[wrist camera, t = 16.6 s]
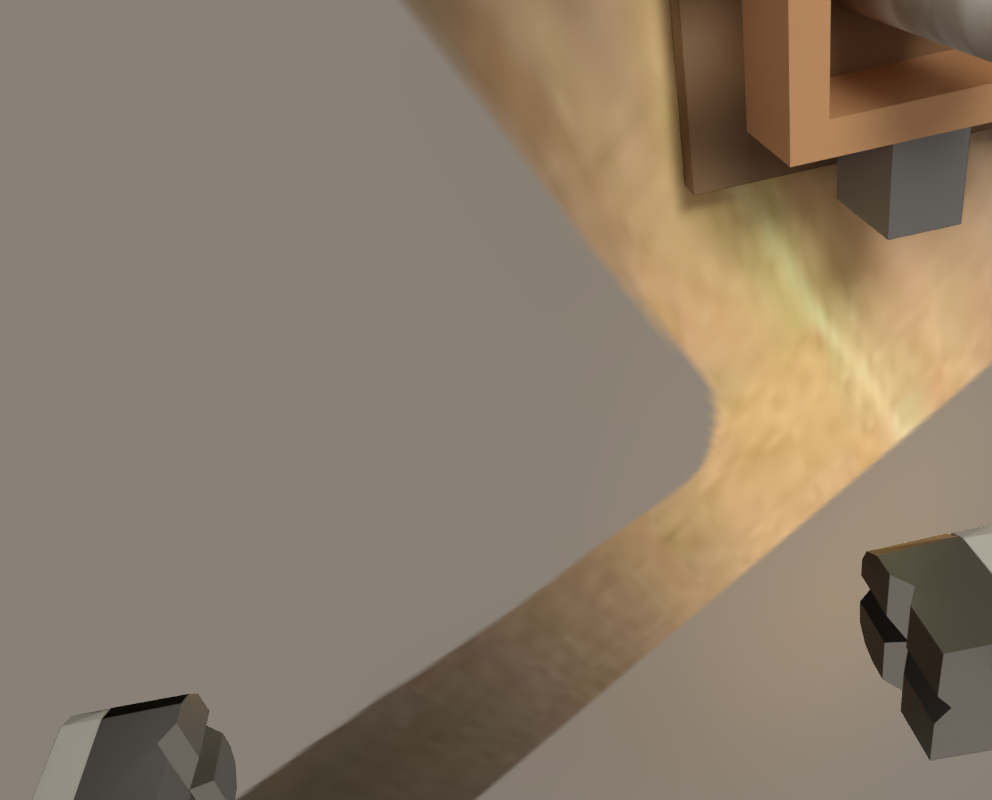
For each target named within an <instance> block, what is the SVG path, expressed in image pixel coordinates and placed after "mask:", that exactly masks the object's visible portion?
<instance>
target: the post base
mask: <svg viewBox="0 0 992 800" xmlns="http://www.w3.org/2000/svg"><path fill="white" fill-rule="evenodd" d="M670 8H671V20H672V33H673V45H674V57H675V69H676V81H677V93H678V106H679V118H680V130H681V142H682V154H683V166H684V179H685V185H686V186H687V188H688V189H689V190H690V191H691V192H692V193H693V195H698V194H703V193H707V192H712V191H716V190H720V189H725V188H729V187H734V186H738V185H743V184H747V183H752V182H756V181H760V180H765V179H769V178H774V177H778V176H783V175H787V174H792V173H796V172H800V171H805V170H809V169H814V168H818V167H823V166H827V165H832V164H836V163H837V157H834V158H829V159H825V160H820V161H816V162H811V163H807V164H803V165H798V166H794V167H789V166H788V165H787V164H786V163H784V162H783V161H782V160H781V159H780V158H778V157H777V156H776V155H775V154H774V153H772V152H771V151H770V150H769V149H767V148H766V147H765V146H764V145H763V144H761V143H760V142H759V141H758V140H757V139H755V138H754V137H753V136H752V135H750V134H749V133H748V132H747V122H746V97H745V71H744V46H743V20H742V0H670ZM953 49H956V50H959V51H961V52H964V53H967V54H970V55H972V56H975V57H978V58H981V59H983V60H986V61H989V62H992V0H831V27H830V77H834V76H839V75H843V74H847V73H852V72H856V71H861V70H865V69H869V68H874V67H878V66H883V65H887V64H891V63H896V62H900V61H905V60H909V59H913V58H918V57H922V56H927V55H931V54H936V53H940V52H944V51H949V50H953ZM987 129H992V122H990V123H985V124H981V125H976V126H972V127H971V132H970V133H974V132H978V131H983V130H987Z"/></svg>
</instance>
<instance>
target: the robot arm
mask: <svg viewBox="0 0 992 800" xmlns="http://www.w3.org/2000/svg"><path fill="white" fill-rule="evenodd" d="M861 575H862V577H863V579H864V580H865V582H866V583H867V585H868V586H869V588H870V590H869V591H868V593H867V594H866V595H865V596H864V598H863V599H862V600H861V601H860V623H861V628H862V632H863V636H864V641H865V644H866V647H867V649H868V652H869V654H870V656H871V659H872V661H873V663H874V665H875V667H876V668H877V670H878V672H879V674H880V675H881V677H882V679H883V680H885V681H887V682H888V683H890V684H892V685H894V686H895V687H897V688H899V689H900V690H902V703H901V712H902V714H903V715H904V717H905V719H906V721H907V722H908V724H909V725H910V727H911V729H912V731H913V732H914V734H915V736H916V738H917V739H918V741H919V743H920V744H921V746H922V748H923V750H924V751H925V753H926V755H927V756H928V758H929V760H937V759H943V758H949V757H954V756H960V755H966V754H972V753H978V752H983V751H989V750H992V524H991V525H986V526H982V527H977V528H972V529H968V530H963V531H958V532H954V533H951V534H943V535H938V536H933V537H929V538H924V539H920V540H915V541H911V542H907V543H902V544H898V545H893V546H888V547H884V548H879V549H875V550H871V551H867V552H866V554H865V555H864V557H863V559H862V573H861ZM208 714H209V710H208V708H207V707H206V705H205V704H204V702H203V701H202V699H201V698H200V696H199V695H198V694H186V695H180V696H176V697H170V698H164V699H158V700H153V701H148V702H142V703H136V704H131V705H125V706H120V707H115V708H111V709H106V710H101V711H96V712H90V713H85V714H80V715H75V716H71V717H70V718H69V719H68V720H67V721H66V722H65V723H64V724H63V725H62V727H61V728H60V730H59V732H58V735H57V737H56V740H55V742H54V745H53V747H52V750H51V752H50V755H49V758H48V760H47V763H46V765H45V768H44V770H43V773H42V775H41V778H40V780H39V783H38V785H37V788H36V790H35V793H34V796H33V798H32V800H235V795H236V789H237V785H236V766H235V760H234V757H233V754H232V751H231V747H230V745H229V743H228V741H227V740H226V738H225V736H224V735H223V733H221V732H219V731H217V730H214V729H212V728H210V727H208V726H206V723H207V719H208Z"/></svg>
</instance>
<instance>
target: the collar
mask: <svg viewBox="0 0 992 800" xmlns="http://www.w3.org/2000/svg"><path fill="white" fill-rule="evenodd" d="M742 20H743V46H744V71H745V97H746V122H747V132H748V133H749V134H750V135H752V136H753V137H754V138H755V139H757V140H758V141H759V142H760V143H761V144H763V145H764V146H765V147H766V148H767V149H769V150H770V151H771V152H772V153H774V154H775V155H776V156H777V157H778V158H780V159H781V160H782V161H783V162H784V163H786V164H787V165H788V166H789V167H794V166H798V165H803V164H807V163H811V162H816V161H820V160H825V159H829V158H834V157H837V199H838V200H839V201H840V202H842V203H843V204H844V205H845V206H847V207H848V208H849V209H850V210H852V211H853V212H854V213H855V214H857V215H858V216H859V217H860V218H862V219H863V220H864V221H865V222H866V223H868V224H869V225H870V226H871V227H873V228H874V229H875V230H876V231H878V232H879V233H880V234H881V235H883V236H884V237H885V238H886V239H888V240H890V239H895V238H899V237H904V236H908V235H913V234H917V233H922V232H926V231H931V230H935V229H940V228H944V227H949V226H953V225H958V224H961V220H962V210H963V200H964V190H965V181H966V171H967V161H968V151H969V142H970V132H971V127H972V126H976V125H981V124H985V123H990V122H992V62H989V61H986V60H983V59H981V58H978V57H975V56H972V55H970V54H967V53H964V52H961V51H959V50H956V49H953V50H949V51H944V52H940V53H936V54H931V55H927V56H922V57H918V58H913V59H909V60H905V61H900V62H896V63H891V64H887V65H883V66H878V67H874V68H869V69H865V70H861V71H856V72H852V73H847V74H843V75H839V76H834V77H830V27H831V0H742Z"/></svg>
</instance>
